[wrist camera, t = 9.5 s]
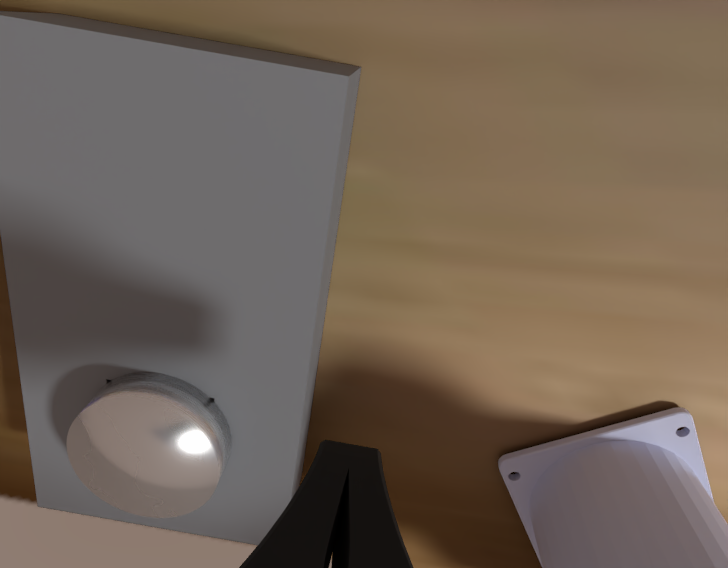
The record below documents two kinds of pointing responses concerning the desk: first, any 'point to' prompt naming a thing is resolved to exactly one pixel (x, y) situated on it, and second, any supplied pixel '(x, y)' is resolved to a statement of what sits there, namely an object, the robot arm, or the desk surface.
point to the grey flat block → (170, 241)
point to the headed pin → (150, 445)
